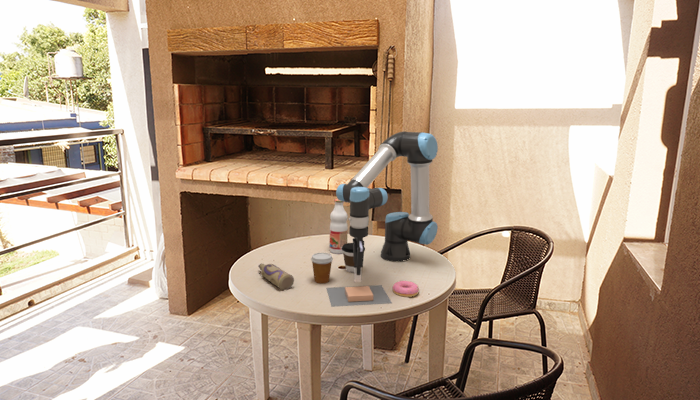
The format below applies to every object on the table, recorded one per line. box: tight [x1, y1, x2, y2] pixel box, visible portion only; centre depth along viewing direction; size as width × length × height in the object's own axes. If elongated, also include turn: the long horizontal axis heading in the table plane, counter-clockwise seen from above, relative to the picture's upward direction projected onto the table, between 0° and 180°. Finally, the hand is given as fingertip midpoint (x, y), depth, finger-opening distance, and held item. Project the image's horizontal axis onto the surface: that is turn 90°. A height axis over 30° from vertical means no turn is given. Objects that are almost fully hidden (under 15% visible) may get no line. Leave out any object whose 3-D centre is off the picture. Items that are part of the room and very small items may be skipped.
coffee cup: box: [342, 242, 366, 274], centre depth 210 cm, size 11×11×12 cm
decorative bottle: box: [258, 263, 295, 291], centre depth 198 cm, size 26×8×7 cm, turn 36°
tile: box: [344, 285, 373, 302], centre depth 181 cm, size 10×2×9 cm
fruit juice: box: [329, 198, 349, 255], centre depth 235 cm, size 9×9×28 cm
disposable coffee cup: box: [310, 252, 334, 284], centre depth 196 cm, size 10×10×12 cm
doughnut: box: [392, 280, 420, 298], centre depth 187 cm, size 11×11×4 cm
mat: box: [325, 284, 393, 308], centre depth 183 cm, size 24×18×1 cm
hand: (357, 281), depth 184 cm, fingers closed
